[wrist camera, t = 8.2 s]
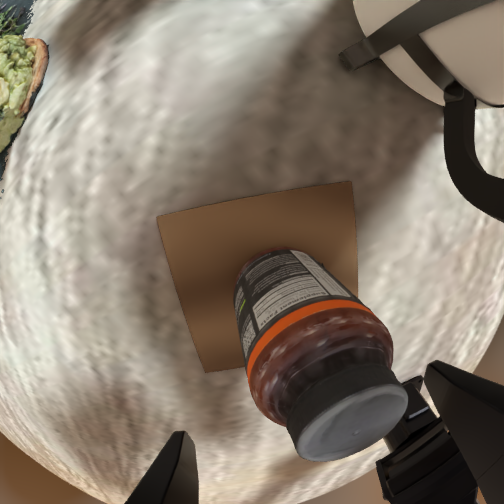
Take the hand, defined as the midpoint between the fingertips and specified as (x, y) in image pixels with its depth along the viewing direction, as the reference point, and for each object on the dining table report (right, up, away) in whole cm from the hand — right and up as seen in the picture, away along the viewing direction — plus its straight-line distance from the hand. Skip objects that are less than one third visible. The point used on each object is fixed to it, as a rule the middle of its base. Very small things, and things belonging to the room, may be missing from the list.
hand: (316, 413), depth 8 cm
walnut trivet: (-1, +3, +11) cm, 11 cm away
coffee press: (+10, +20, +6) cm, 23 cm away
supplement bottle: (-1, +3, +10) cm, 10 cm away
